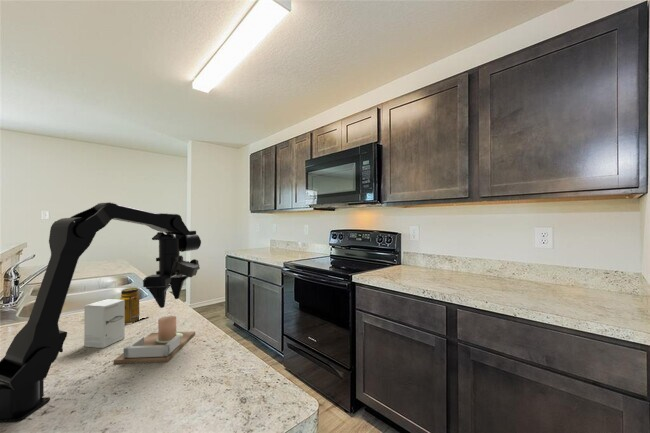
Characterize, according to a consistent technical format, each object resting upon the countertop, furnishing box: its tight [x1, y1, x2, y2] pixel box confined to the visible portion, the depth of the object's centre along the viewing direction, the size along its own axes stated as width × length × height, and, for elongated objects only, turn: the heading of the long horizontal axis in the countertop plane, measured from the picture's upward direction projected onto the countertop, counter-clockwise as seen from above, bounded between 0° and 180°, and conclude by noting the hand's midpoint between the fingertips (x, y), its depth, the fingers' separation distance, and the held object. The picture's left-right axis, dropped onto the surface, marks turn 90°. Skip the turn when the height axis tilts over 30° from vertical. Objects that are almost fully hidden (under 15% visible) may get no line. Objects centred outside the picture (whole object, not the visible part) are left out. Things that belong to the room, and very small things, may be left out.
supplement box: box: [83, 298, 126, 349], centre depth 88 cm, size 7×7×13 cm
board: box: [113, 330, 196, 365], centre depth 84 cm, size 18×14×1 cm
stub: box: [157, 315, 178, 341], centre depth 88 cm, size 5×5×6 cm
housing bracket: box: [123, 336, 180, 358], centre depth 79 cm, size 7×11×2 cm, turn 93°
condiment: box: [119, 287, 140, 326], centre depth 108 cm, size 7×8×12 cm
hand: (169, 303), depth 88 cm, fingers open, 9 cm apart
